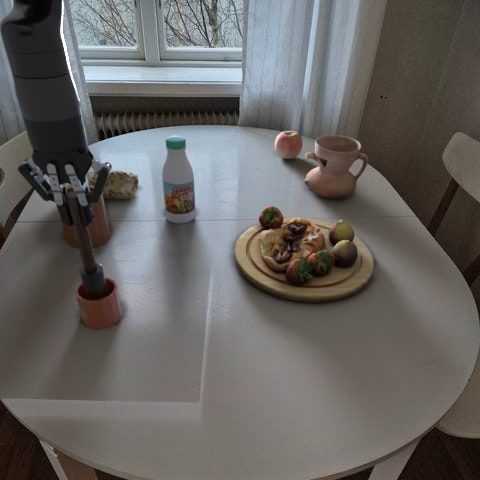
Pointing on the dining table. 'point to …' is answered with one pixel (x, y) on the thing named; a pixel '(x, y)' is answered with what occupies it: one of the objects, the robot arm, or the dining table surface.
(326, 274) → the wooden plate
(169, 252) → the dining table surface
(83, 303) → the cup
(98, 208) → the jar
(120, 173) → the seeded bread loaf
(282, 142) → the apple
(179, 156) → the milk bottle
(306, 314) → the dining table surface
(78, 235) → the brush
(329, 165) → the ceramic jug
